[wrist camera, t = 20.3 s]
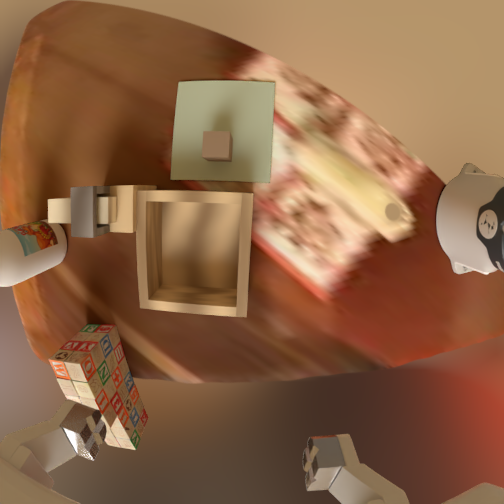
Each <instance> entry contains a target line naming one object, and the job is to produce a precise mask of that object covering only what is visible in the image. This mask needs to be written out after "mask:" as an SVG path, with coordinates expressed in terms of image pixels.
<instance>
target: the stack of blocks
mask: <svg viewBox="0 0 504 504" xmlns="http://www.w3.org/2000/svg"><path fill="white" fill-rule="evenodd" d="M49 361H50V363H51V366H52V368H53V370H54V372H55V375H56V376H57V381H58V383H59V385H60V387H61V388H62V391H63V393H64V394H65V396H66V398H67V400H68V399H70V400H73V401H75V402H78V403H81V404H83V405H86V406H89V407H91V408H94V409H97V410H100V412H101V414H102V417H101V420H102V421H103V422H104V423H105V425H106V430H107V433H106V438H105V441H106V443H107V444H108V445H111V446H116V447H123V448H127V449H133V450H136V449H137V446H138V444H139V441H140V437H141V435H142V432H143V430H144V427H145V424H146V422H147V420H148V416H147V414H146V412H145V409H144V406H143V404H142V401H141V399H140V397H139V394H138V391H137V388H136V386H135V384H134V381H133V378H132V376H131V373H130V371H129V367H128V364H127V362H126V358H125V354H124V351H123V348H122V344H121V341H120V337H119V334H118V330H117V327H116V325H95V324H87V325H86V326H85V327H84V328H82V329H81V330H80V331H79V332H78V333H77V334H76V335H75V336H74V337H73V338H71V339H70V340H69V341H68V342H67V343H65V344H64V345H63V346H62V347H61V348H60V349H59V351H57V352H56V353H55V354H54V355H53V356H52V357H51V358H50V359H49Z"/></svg>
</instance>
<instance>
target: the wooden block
mask: <svg viewBox="0 0 504 504" xmlns="http://www.w3.org/2000/svg"><path fill="white" fill-rule="evenodd" d="M116 199H117V196H114V197H97V224H110V223H114V222H116ZM48 223H71V198H55V199H48Z"/></svg>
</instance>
